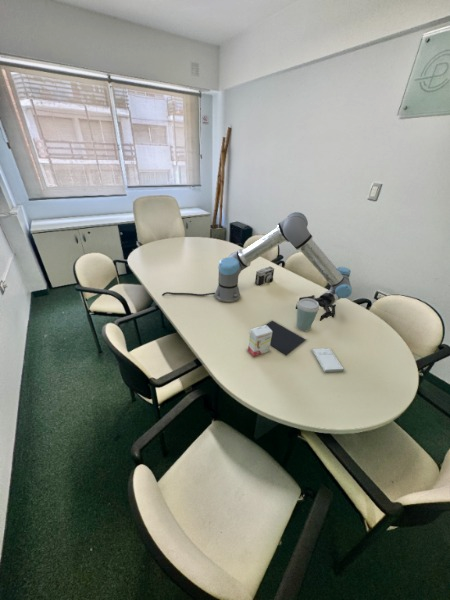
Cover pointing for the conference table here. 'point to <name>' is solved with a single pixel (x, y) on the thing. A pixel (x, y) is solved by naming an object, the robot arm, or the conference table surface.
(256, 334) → the ink box
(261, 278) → the camera
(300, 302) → the disposable coffee cup
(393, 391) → the conference table surface
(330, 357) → the hard drive
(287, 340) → the mat
